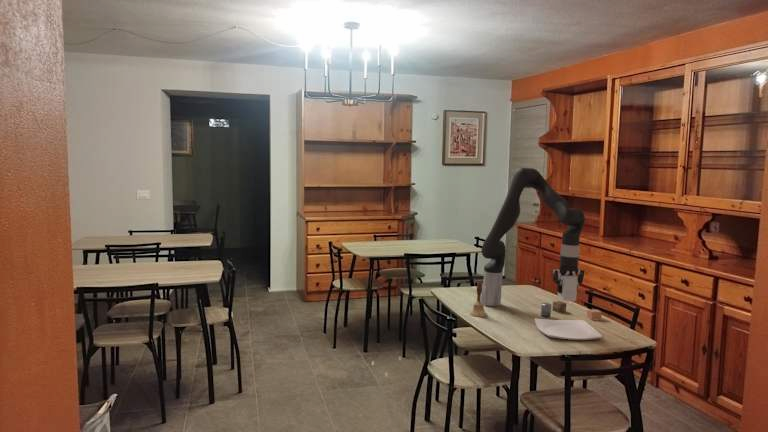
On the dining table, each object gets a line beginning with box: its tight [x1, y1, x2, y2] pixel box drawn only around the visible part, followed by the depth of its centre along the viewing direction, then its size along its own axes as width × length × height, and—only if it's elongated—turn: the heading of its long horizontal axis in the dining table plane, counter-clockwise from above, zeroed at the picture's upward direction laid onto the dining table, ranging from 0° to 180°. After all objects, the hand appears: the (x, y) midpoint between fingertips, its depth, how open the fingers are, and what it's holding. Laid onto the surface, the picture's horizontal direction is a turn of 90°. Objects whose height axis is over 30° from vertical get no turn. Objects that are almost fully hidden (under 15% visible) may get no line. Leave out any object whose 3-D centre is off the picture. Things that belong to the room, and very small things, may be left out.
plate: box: [534, 318, 603, 341], centre depth 224 cm, size 24×24×3 cm
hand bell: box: [469, 281, 488, 318], centre depth 246 cm, size 8×8×16 cm
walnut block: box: [552, 300, 567, 314], centre depth 256 cm, size 4×4×4 cm
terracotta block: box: [586, 309, 603, 321], centre depth 245 cm, size 5×4×4 cm
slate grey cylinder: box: [540, 302, 552, 319], centre depth 247 cm, size 4×4×6 cm
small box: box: [557, 272, 578, 302], centre depth 223 cm, size 8×6×10 cm
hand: (567, 292), depth 223 cm, fingers closed on small box, 6 cm apart
